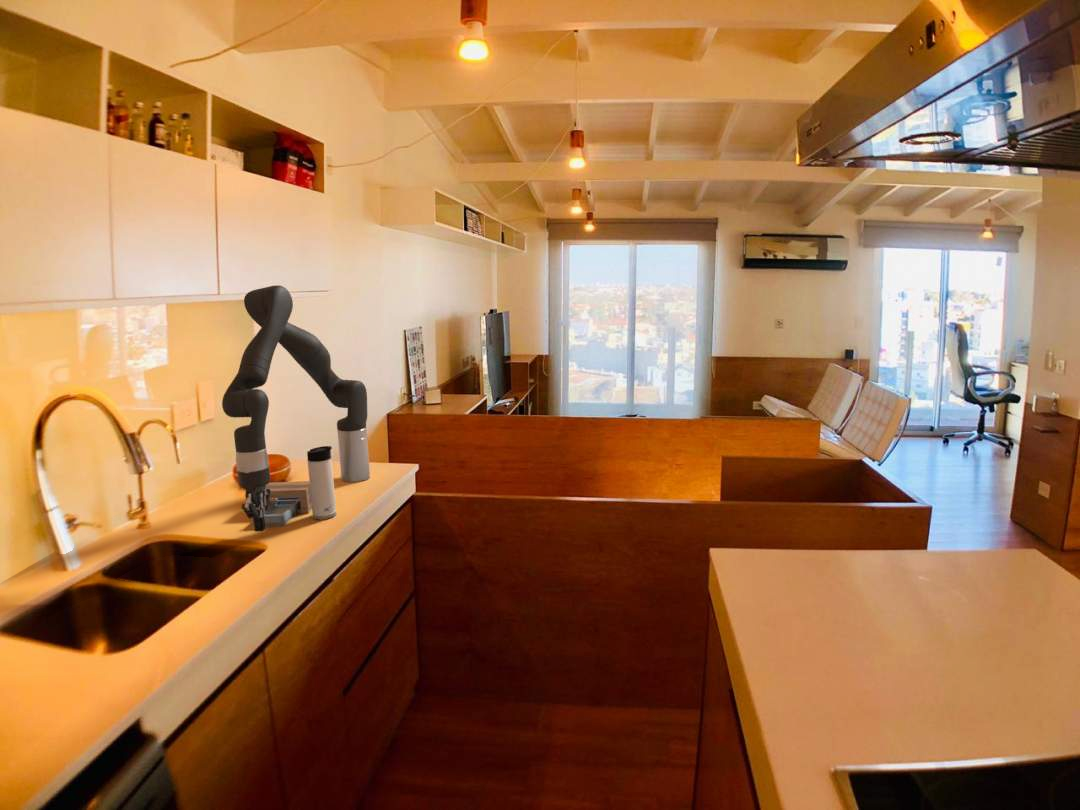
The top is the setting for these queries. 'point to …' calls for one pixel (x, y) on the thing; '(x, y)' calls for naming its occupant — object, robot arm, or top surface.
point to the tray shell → (280, 511)
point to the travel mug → (321, 482)
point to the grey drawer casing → (292, 493)
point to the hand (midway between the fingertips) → (260, 530)
